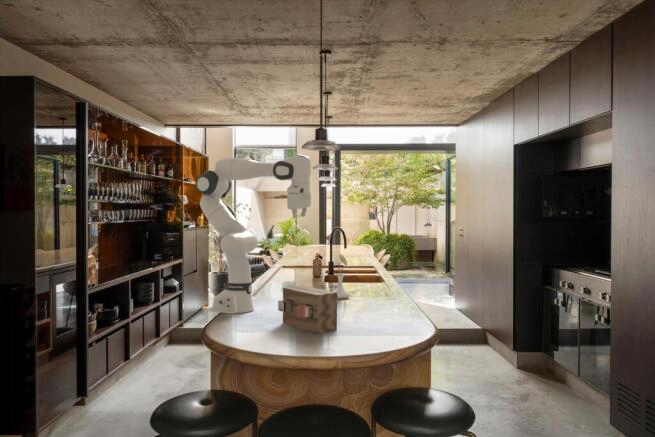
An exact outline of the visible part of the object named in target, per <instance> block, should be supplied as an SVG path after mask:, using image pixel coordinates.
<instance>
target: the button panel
mask: <svg viewBox="0 0 655 437" xmlns="http://www.w3.org/2000/svg"><path fill="white" fill-rule="evenodd" d="M283 300H293V310H292V311H286V312H282V324H283V325H286V326H289V327H293V328H295V329H300V330H301V331H306V332H308V333H310V334H315V335H320V334H324V333H330V332H335V331H337V330H338V298H337V292H333V291H332V290H326V289H323V288H317V287H312V286H307V285H295V286H286V287H283V288H282V301H283ZM302 305H313V316H309V317H305V318H303V317H299V316H298V306H302Z"/></svg>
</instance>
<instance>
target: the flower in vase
mask: <svg viewBox="0 0 655 437" xmlns="http://www.w3.org/2000/svg"><path fill="white" fill-rule="evenodd" d="M338 257H339V260H340V263H339V264H338V265H339V266H338V267H337V269H338V272H339V273H336V276H337V279H338V282H337V283H338V285H337V288H335V289H334V290H333V291H332V292H337V299H339V300H340V299H341V300H342V299H348V298H350V297H351V294H350V293H349V291H348V290H346V289H345V287H344V286H343V279H344V277H345V273H341V272H342V271H343V270H344V268H340V266H341V264H343V265H344V266H346V267H347V266H348V261H347V260H346V257H344V255H343V254H341V253H339V255H338Z"/></svg>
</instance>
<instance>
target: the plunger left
mask: <svg viewBox="0 0 655 437" xmlns="http://www.w3.org/2000/svg"><path fill="white" fill-rule="evenodd" d="M277 306H278V308H277V309H278V311H279V312H282V313H283V312H286V311H292V310H293V300H283V299H282V300H278V305H277Z"/></svg>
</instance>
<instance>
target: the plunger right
mask: <svg viewBox="0 0 655 437" xmlns="http://www.w3.org/2000/svg"><path fill="white" fill-rule="evenodd" d="M298 316H299V317H303V318H305V317H309V316H313V305H302V306H298Z"/></svg>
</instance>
